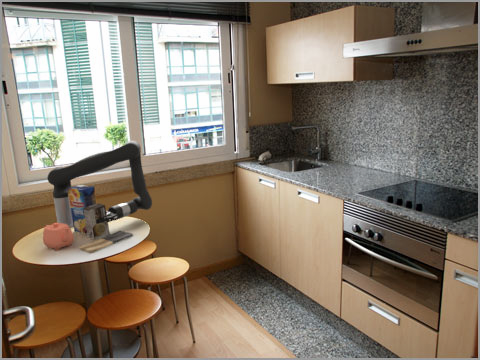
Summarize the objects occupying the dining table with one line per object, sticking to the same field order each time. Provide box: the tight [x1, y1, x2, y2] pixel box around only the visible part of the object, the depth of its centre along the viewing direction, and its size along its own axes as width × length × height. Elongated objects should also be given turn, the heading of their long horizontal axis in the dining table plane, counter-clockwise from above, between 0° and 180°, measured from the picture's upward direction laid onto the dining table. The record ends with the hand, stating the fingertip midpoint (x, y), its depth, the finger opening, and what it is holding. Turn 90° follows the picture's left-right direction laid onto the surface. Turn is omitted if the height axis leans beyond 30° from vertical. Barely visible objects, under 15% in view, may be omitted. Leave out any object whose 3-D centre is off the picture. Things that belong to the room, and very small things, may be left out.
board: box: [78, 230, 134, 254], centre depth 193 cm, size 10×24×1 cm, turn 144°
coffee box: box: [83, 202, 111, 241], centre depth 200 cm, size 9×6×16 cm
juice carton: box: [67, 184, 98, 235], centre depth 208 cm, size 12×8×24 cm, turn 62°
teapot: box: [42, 222, 75, 252], centre depth 189 cm, size 20×12×12 cm, turn 56°
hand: (92, 220), depth 198 cm, fingers closed on coffee box, 6 cm apart
